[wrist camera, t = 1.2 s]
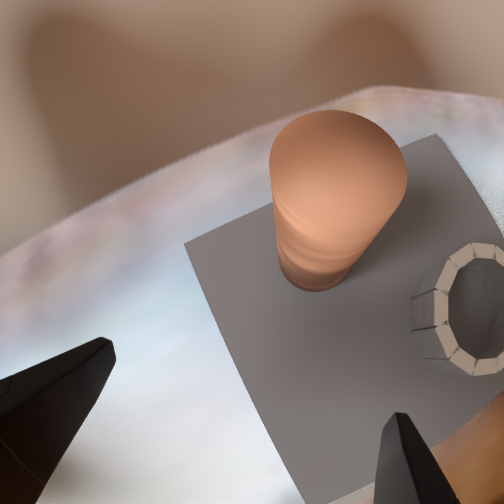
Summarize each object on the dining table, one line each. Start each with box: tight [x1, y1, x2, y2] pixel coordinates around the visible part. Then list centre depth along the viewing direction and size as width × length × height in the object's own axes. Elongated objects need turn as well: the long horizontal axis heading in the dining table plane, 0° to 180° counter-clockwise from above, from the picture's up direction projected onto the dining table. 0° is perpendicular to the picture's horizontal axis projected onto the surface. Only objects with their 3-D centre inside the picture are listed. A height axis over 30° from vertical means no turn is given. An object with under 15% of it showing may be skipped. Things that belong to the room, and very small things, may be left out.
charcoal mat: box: [184, 134, 504, 504], centre depth 21 cm, size 22×24×1 cm
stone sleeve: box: [410, 242, 504, 376], centre depth 18 cm, size 8×8×4 cm
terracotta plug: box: [269, 110, 407, 292], centre depth 16 cm, size 5×5×12 cm
